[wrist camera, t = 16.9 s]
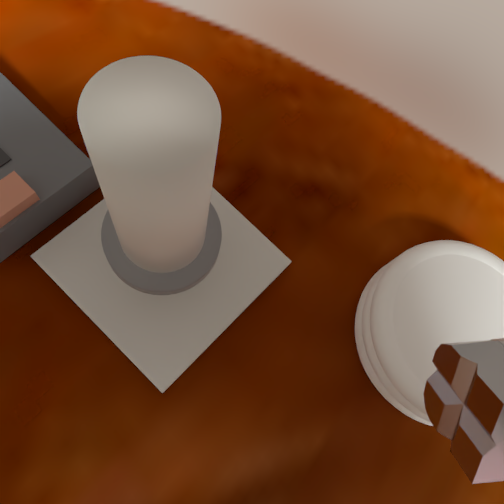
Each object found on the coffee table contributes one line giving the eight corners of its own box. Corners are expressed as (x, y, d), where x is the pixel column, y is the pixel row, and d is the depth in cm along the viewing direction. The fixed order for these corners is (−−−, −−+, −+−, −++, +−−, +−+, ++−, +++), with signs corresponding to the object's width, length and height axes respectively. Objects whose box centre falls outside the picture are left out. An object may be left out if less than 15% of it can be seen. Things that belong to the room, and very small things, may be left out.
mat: (289, 264, 27) (291, 261, 26) (162, 393, 23) (162, 393, 23) (170, 152, 28) (170, 147, 27) (33, 259, 25) (30, 255, 24)
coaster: (415, 226, 29) (445, 202, 26) (538, 336, 28) (586, 327, 25) (316, 336, 26) (337, 325, 23) (452, 468, 25) (494, 476, 21)
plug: (236, 259, 26) (287, 121, 14) (162, 330, 24) (143, 242, 12) (167, 193, 26) (157, 5, 14) (90, 256, 24) (2, 101, 12)
